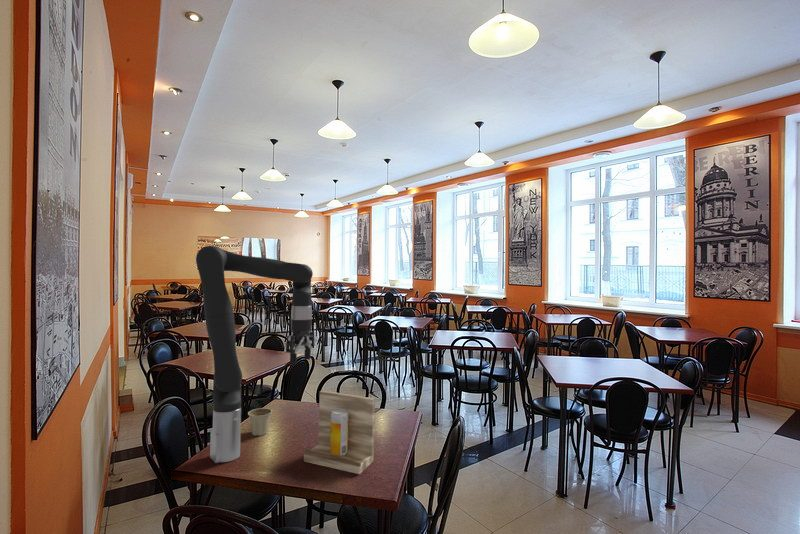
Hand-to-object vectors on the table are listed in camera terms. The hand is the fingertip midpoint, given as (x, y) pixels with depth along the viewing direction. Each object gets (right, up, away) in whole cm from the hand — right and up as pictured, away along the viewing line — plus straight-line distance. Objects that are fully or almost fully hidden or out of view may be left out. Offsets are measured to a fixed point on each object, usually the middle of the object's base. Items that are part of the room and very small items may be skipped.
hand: (300, 361), depth 152 cm
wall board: (+16, -33, -8) cm, 38 cm away
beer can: (+15, -31, -8) cm, 35 cm away
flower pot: (-20, -33, +15) cm, 42 cm away
